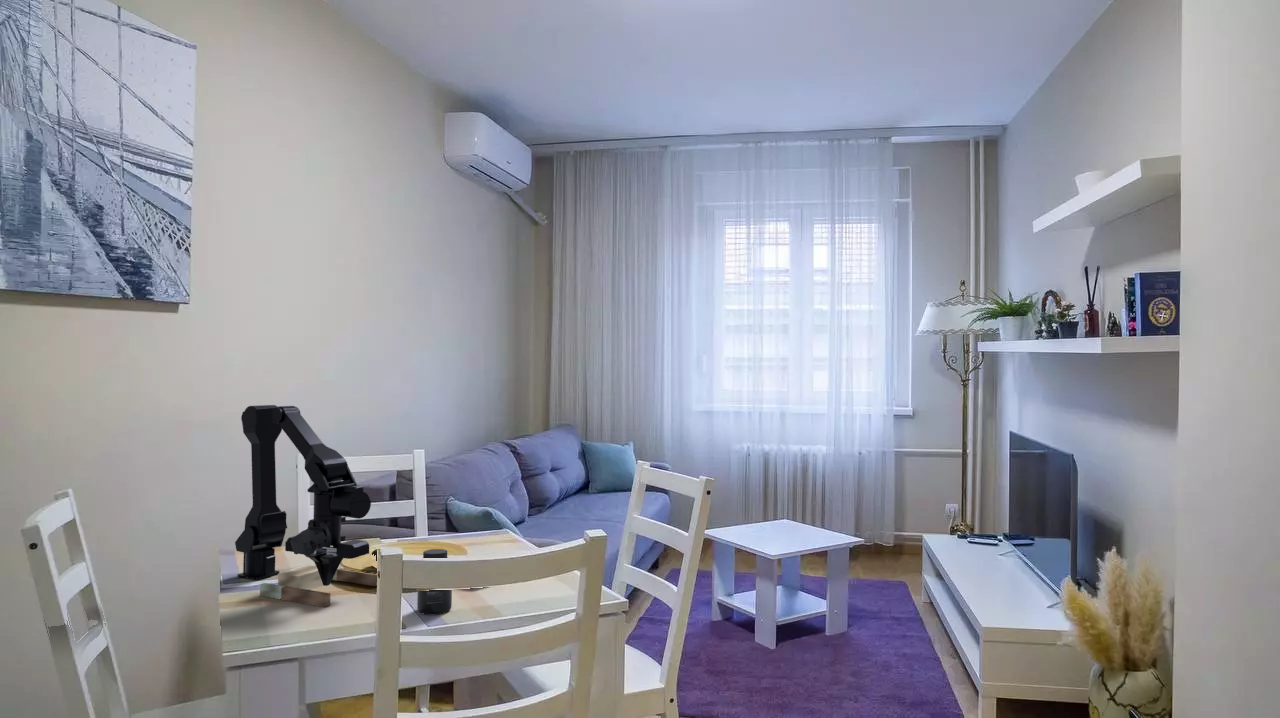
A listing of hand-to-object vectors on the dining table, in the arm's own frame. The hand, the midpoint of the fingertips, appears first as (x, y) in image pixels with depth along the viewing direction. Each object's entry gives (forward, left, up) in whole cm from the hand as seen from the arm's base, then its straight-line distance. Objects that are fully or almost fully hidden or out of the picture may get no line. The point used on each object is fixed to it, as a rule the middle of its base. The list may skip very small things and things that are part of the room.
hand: (326, 585), depth 167 cm
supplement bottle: (+29, -1, -2) cm, 29 cm away
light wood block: (-7, 0, -2) cm, 7 cm away
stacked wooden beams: (-1, 0, -1) cm, 2 cm away
